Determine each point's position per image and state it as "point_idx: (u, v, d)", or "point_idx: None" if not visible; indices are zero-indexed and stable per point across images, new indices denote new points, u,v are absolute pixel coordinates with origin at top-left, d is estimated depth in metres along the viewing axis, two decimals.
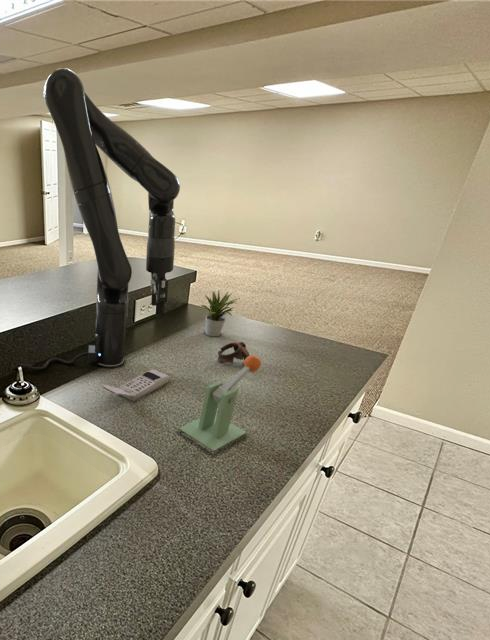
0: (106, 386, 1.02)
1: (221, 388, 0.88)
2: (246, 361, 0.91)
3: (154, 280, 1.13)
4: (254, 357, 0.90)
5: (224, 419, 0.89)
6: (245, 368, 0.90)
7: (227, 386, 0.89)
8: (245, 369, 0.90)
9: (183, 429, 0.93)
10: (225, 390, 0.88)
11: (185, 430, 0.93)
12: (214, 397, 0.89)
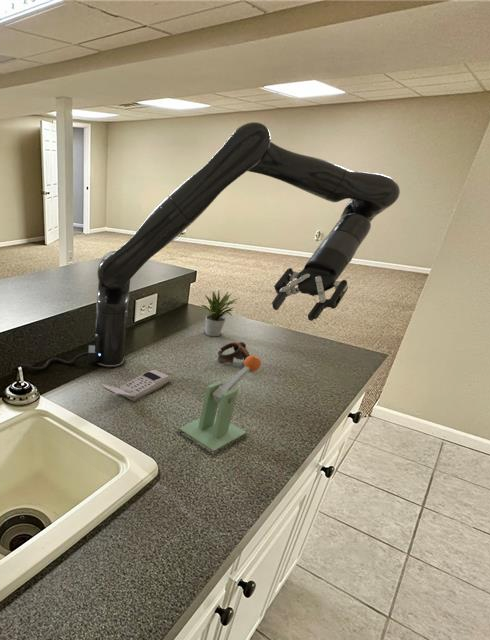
0: (106, 386, 1.02)
1: (221, 388, 0.88)
2: (246, 361, 0.91)
3: (321, 278, 0.90)
4: (254, 357, 0.90)
5: (224, 419, 0.89)
6: (245, 368, 0.90)
7: (227, 386, 0.89)
8: (245, 369, 0.90)
9: (183, 429, 0.93)
10: (225, 390, 0.88)
11: (185, 430, 0.93)
12: (214, 397, 0.89)
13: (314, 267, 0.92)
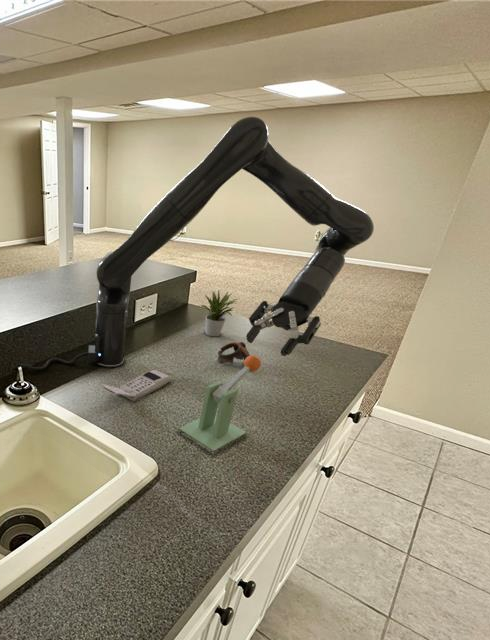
0: (106, 386, 1.02)
1: (221, 388, 0.88)
2: (246, 361, 0.91)
3: (294, 313, 0.90)
4: (254, 357, 0.90)
5: (224, 419, 0.89)
6: (245, 368, 0.90)
7: (227, 386, 0.89)
8: (245, 369, 0.90)
9: (183, 429, 0.93)
10: (225, 390, 0.88)
11: (185, 430, 0.93)
12: (214, 397, 0.89)
13: (288, 301, 0.92)
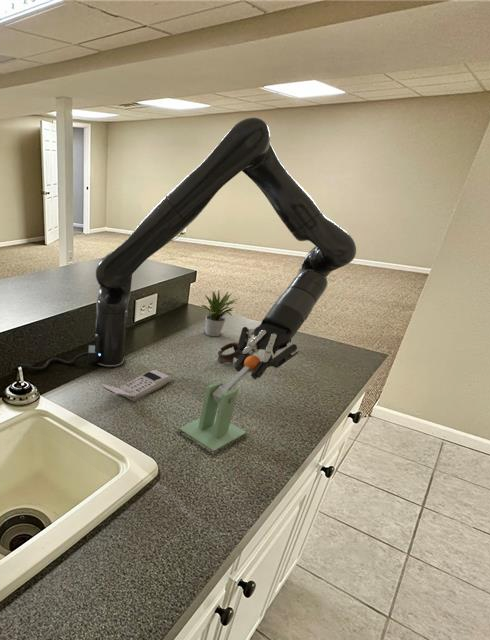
0: (106, 386, 1.02)
1: (221, 388, 0.88)
2: (246, 361, 0.91)
3: (276, 337, 0.89)
4: (254, 357, 0.90)
5: (224, 419, 0.89)
6: (245, 368, 0.90)
7: (227, 386, 0.89)
8: (245, 369, 0.90)
9: (183, 429, 0.93)
10: (225, 390, 0.88)
11: (185, 430, 0.93)
12: (214, 397, 0.89)
13: (271, 324, 0.91)
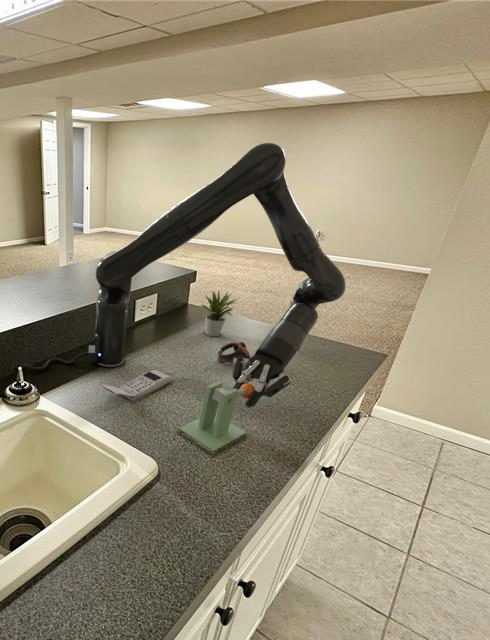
0: (106, 386, 1.02)
1: (223, 389, 0.89)
2: (245, 384, 0.95)
3: (269, 368, 0.93)
4: (252, 385, 0.95)
5: (224, 419, 0.89)
6: (242, 389, 0.94)
7: None
8: (242, 390, 0.94)
9: (183, 429, 0.93)
10: None
11: (185, 430, 0.93)
12: (215, 393, 0.88)
13: (264, 354, 0.95)
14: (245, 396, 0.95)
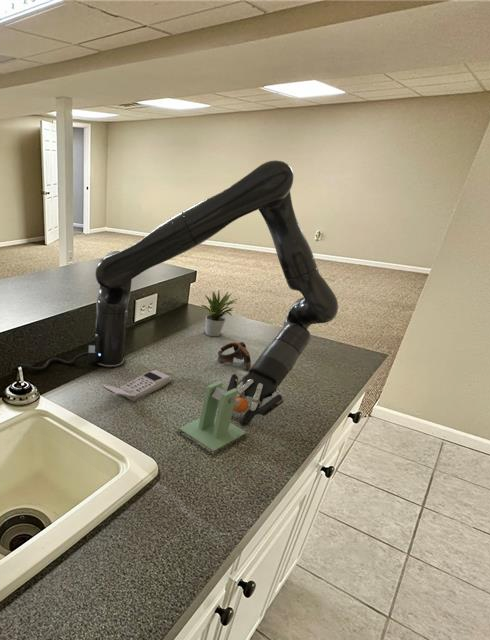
0: (106, 386, 1.02)
1: None
2: (239, 398, 0.96)
3: (263, 387, 0.95)
4: None
5: (224, 419, 0.89)
6: (237, 401, 0.95)
7: None
8: (237, 401, 0.94)
9: (183, 429, 0.93)
10: None
11: (185, 430, 0.93)
12: (216, 391, 0.88)
13: (258, 373, 0.97)
14: (238, 409, 0.95)
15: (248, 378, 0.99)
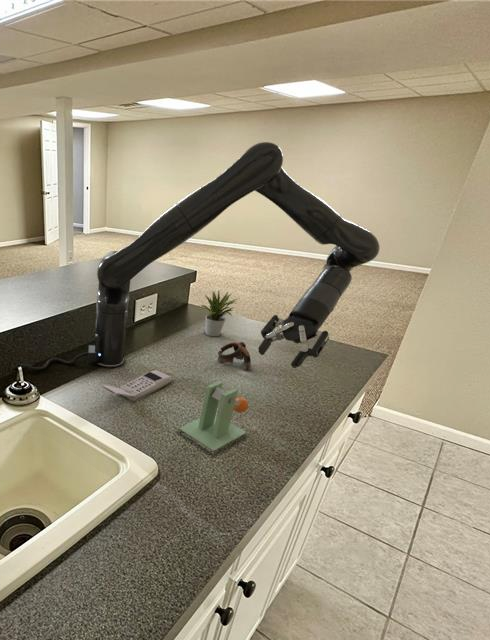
0: (106, 386, 1.02)
1: None
2: (239, 398, 0.96)
3: (304, 328, 0.95)
4: None
5: (224, 419, 0.89)
6: (237, 401, 0.95)
7: None
8: (237, 401, 0.94)
9: (183, 429, 0.93)
10: None
11: (185, 430, 0.93)
12: (216, 391, 0.88)
13: (298, 316, 0.97)
14: (238, 409, 0.95)
15: (288, 322, 0.99)
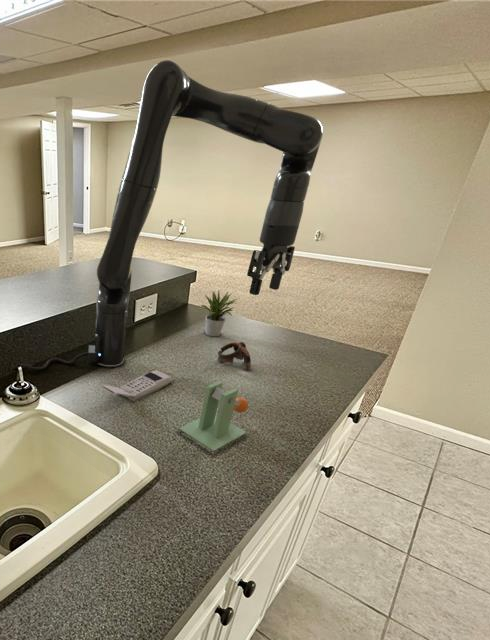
0: (106, 386, 1.02)
1: None
2: (239, 398, 0.96)
3: None
4: None
5: (224, 419, 0.89)
6: (237, 401, 0.95)
7: None
8: (237, 401, 0.94)
9: (183, 429, 0.93)
10: None
11: (185, 430, 0.93)
12: (216, 391, 0.88)
13: None
14: (238, 409, 0.95)
15: None
